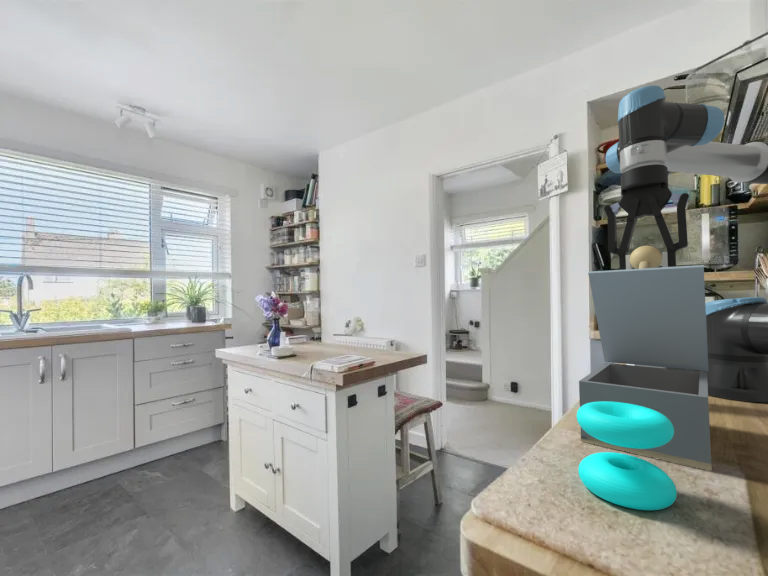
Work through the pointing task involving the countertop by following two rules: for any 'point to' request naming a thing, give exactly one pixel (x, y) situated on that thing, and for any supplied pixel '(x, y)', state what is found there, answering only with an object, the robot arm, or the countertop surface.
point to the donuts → (621, 471)
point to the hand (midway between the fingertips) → (647, 287)
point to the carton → (657, 407)
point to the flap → (652, 313)
